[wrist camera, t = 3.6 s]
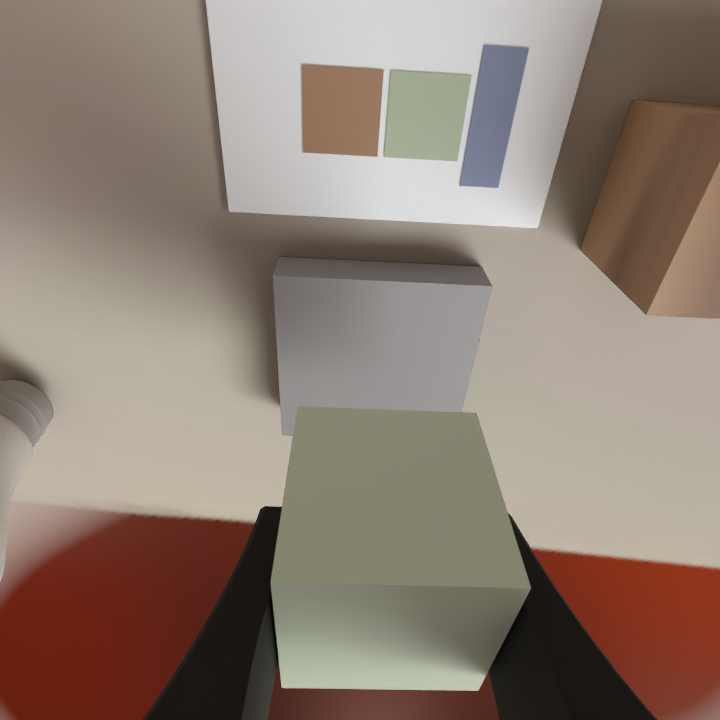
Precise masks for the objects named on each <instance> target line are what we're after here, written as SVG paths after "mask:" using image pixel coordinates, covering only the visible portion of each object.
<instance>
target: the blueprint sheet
mask: <svg viewBox="0 0 720 720" xmlns="http://www.w3.org/2000/svg"><path fill="white" fill-rule="evenodd" d="M602 1H603V0H206V9H207V18H208V27H209V36H210V45H211V54H212V63H213V72H214V81H215V91H216V100H217V109H218V118H219V127H220V136H221V145H222V154H223V164H224V173H225V182H226V191H227V200H228V209H229V212H241V213H260V214H279V215H298V216H317V217H336V218H355V219H374V220H393V221H412V222H431V223H450V224H469V225H488V226H507V227H526V228H538V225H539V222H540V218H541V215H542V211H543V208H544V204H545V201H546V197H547V194H548V190H549V187H550V183H551V180H552V176H553V173H554V169H555V166H556V162H557V159H558V155H559V152H560V148H561V145H562V141H563V138H564V134H565V131H566V127H567V124H568V120H569V117H570V113H571V110H572V106H573V103H574V99H575V96H576V92H577V89H578V85H579V82H580V78H581V74H582V71H583V67H584V64H585V60H586V57H587V53H588V50H589V46H590V43H591V39H592V36H593V32H594V29H595V25H596V22H597V18H598V15H599V11H600V8H601V4H602Z"/></svg>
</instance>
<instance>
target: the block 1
mask: <svg viewBox="0 0 720 720" xmlns="http://www.w3.org/2000/svg"><path fill="white" fill-rule="evenodd" d="M270 583H271V592H272V601H273V611H274V620H275V629H276V638H277V648H278V657H279V666H280V675H281V685H282V688H328V689H331V688H332V689H400V690H402V689H403V690H471V691H478V690H479V688H480V686H481V684H482V682H483V680H484V678H485V676H486V675H487V672H488V671H489V669H490V667H491V665H492V663H493V661H494V659H495V657H496V655H497V653H498V651H499V649H500V648H501V646H502V644H503V642H504V640H505V638H506V636H507V634H508V632H509V630H510V628H511V626H512V624H513V622H514V620H515V619H516V617H517V615H518V613H519V611H520V609H521V607H522V605H523V603H524V601H525V599H526V597H527V595H528V593H529V591H530V590H531V586H530V583H529V580H528V576H527V573H526V570H525V567H524V564H523V560H522V557H521V554H520V551H519V548H518V544H517V541H516V538H515V535H514V532H513V528H512V525H511V522H510V519H509V516H508V512H507V509H506V506H505V503H504V500H503V496H502V493H501V490H500V487H499V484H498V480H497V477H496V474H495V471H494V468H493V464H492V461H491V458H490V455H489V452H488V448H487V445H486V442H485V439H484V436H483V432H482V429H481V426H480V423H479V420H478V416H477V413H465V412H438V411H411V410H384V409H357V408H330V407H303V406H298V407H297V414H296V420H295V426H294V433H293V439H292V446H291V452H290V459H289V465H288V472H287V478H286V485H285V491H284V498H283V504H282V511H281V517H280V524H279V530H278V537H277V543H276V550H275V556H274V563H273V569H272V576H271V582H270Z"/></svg>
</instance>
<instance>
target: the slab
mask: <svg viewBox="0 0 720 720" xmlns="http://www.w3.org/2000/svg"><path fill="white" fill-rule="evenodd" d="M491 289H492V285H491V283H490V281H489V279H488V277H487V276H486V274H485V272H484V270H483V268H482V267H479V266H459V265H438V264H418V263H398V262H377V261H357V260H337V259H316V258H296V257H279V258H278V261H277V264H276V267H275V270H274V273H273V292H274V309H275V326H276V343H277V360H278V376H279V393H280V410H281V427H282V435H288V436H293V433H294V426H295V420H296V414H297V407H298V406H303V407H330V408H357V409H384V410H411V411H438V412H461V411H462V407H463V403H464V399H465V395H466V391H467V387H468V383H469V379H470V375H471V371H472V366H473V362H474V358H475V354H476V350H477V346H478V342H479V338H480V334H481V330H482V326H483V321H484V317H485V313H486V309H487V305H488V301H489V297H490V293H491Z"/></svg>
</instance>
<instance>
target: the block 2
mask: <svg viewBox="0 0 720 720" xmlns="http://www.w3.org/2000/svg"><path fill="white" fill-rule="evenodd" d="M580 250H581V251H582V252H583V253H584V254H585V255H586V256H587V257H588V258H589V259H590V260H591V261H592V262H593V263H594V264H595V265H596V266H597V267H598V268H599V269H600V270H601V271H602V272H603V273H604V274H605V275H606V276H607V277H608V278H609V279H610V280H611V281H612V282H613V283H614V284H615V285H616V286H617V287H618V288H619V289H620V290H621V291H622V292H623V293H624V294H625V295H626V296H627V297H628V298H629V299H630V300H632V301H633V302H634V303H635V304H636V305H637V306H638V307H639V308H640V309H641V310H642V311H643V312H644V313H645V314H646V315H657V316H677V317H697V318H717V319H720V106H719V105H705V104H690V103H675V102H661V101H646V100H633V101H632V104H631V107H630V110H629V113H628V116H627V118H626V121H625V124H624V127H623V130H622V133H621V135H620V138H619V141H618V144H617V147H616V150H615V152H614V155H613V158H612V161H611V164H610V167H609V169H608V172H607V175H606V178H605V181H604V184H603V186H602V189H601V192H600V195H599V198H598V201H597V203H596V206H595V209H594V212H593V215H592V218H591V220H590V223H589V226H588V229H587V232H586V235H585V237H584V240H583V243H582V246H581V249H580Z"/></svg>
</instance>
